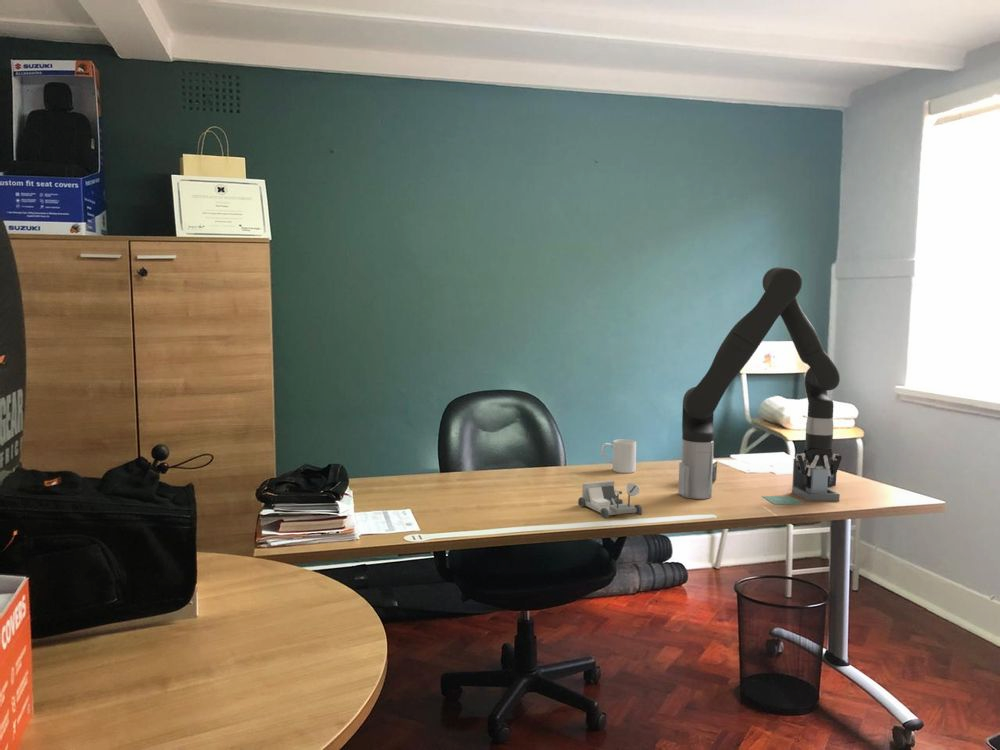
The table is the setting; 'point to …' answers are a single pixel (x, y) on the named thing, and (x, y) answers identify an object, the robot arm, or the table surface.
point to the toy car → (608, 498)
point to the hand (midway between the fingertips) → (816, 487)
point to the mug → (623, 455)
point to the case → (800, 488)
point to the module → (818, 480)
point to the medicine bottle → (714, 469)
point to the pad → (782, 500)
